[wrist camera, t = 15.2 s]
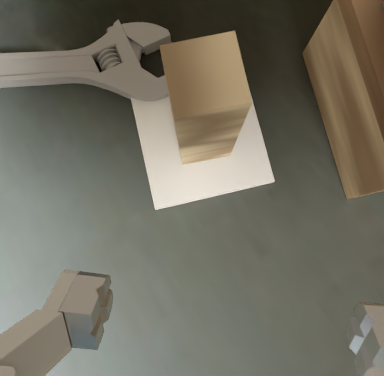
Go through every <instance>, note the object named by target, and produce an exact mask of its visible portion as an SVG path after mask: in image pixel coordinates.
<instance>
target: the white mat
mask: <svg viewBox="0 0 384 376" xmlns="http://www.w3.org/2000/svg"><path fill="white" fill-rule="evenodd" d="M249 91H250V89H249ZM250 95H251V93H250ZM251 99H252V97H251ZM131 101H132V106H133V111H134V115H135V120H136V124H137V129H138V133H139V138H140V143H141V147H142V152H143V156H144V161H145V165H146V170H147V175H148V179H149V184H150V188H151V193H152V197H153V202H154V206H155V210H158V209H162V208H167V207H171V206H175V205H179V204H184V203H188V202H192V201H196V200H201V199H205V198H209V197H213V196H218V195H222V194H226V193H230V192H235V191H239V190H243V189H248V188H252V187H256V186H260V185H265V184H269V183H273V182H274V181H275V180H274V177H273V173H272V169H271V166H270V162H269V159H268V155H267V151H266V148H265V144H264V140H263V137H262V133H261V129H260V126H259V122H258V118H257V115H256V111H255V108H254V104H253V100H252V104H251V107H250V109H249V112H248V114H247V116H246V119H245V121H244V124H243V126H242V128H241V131H240V133H239V136H238V138H237V140H236V143H235V145H234V147H233V150H232V152H231V155H230V156H225V157H220V158H215V159H210V160H206V161H201V162H196V163H191V164H186V165H183V164H182V159H181V154H180V150H179V145H178V140H177V135H176V130H175V125H174V120H173V115H172V110H171V104H170V99H169V96H168V97H166V98H163V99H160V100H157V101H140V100H136V99H134V98H132V97H131Z"/></svg>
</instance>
